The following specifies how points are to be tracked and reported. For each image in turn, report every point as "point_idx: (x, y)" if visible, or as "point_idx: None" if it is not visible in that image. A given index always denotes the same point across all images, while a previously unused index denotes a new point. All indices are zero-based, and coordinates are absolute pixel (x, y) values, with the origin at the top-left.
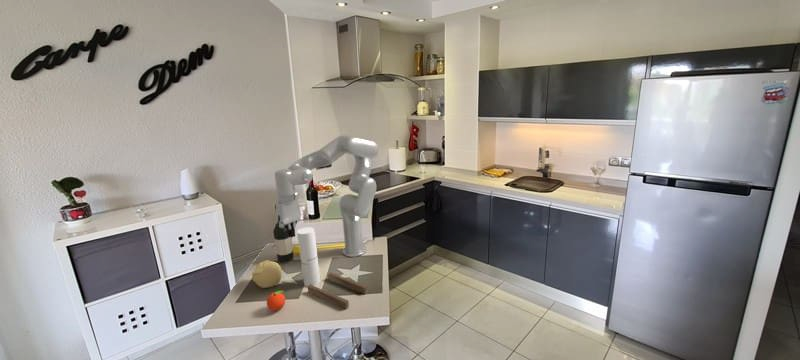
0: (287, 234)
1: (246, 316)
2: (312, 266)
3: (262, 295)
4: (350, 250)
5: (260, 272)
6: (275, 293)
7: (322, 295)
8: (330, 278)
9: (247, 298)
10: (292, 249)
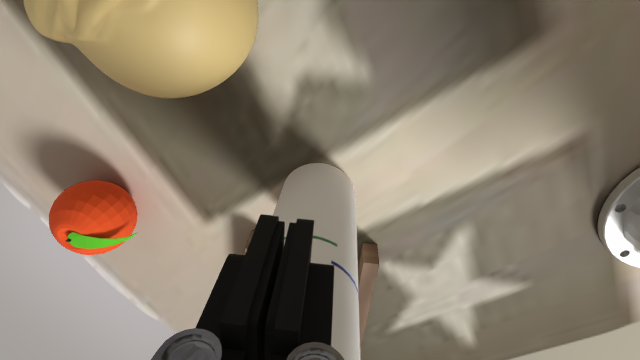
0: (227, 258)
1: (8, 129)
2: None
3: None
4: (638, 235)
5: (57, 39)
6: (73, 240)
7: None
8: (360, 262)
9: None
10: None
